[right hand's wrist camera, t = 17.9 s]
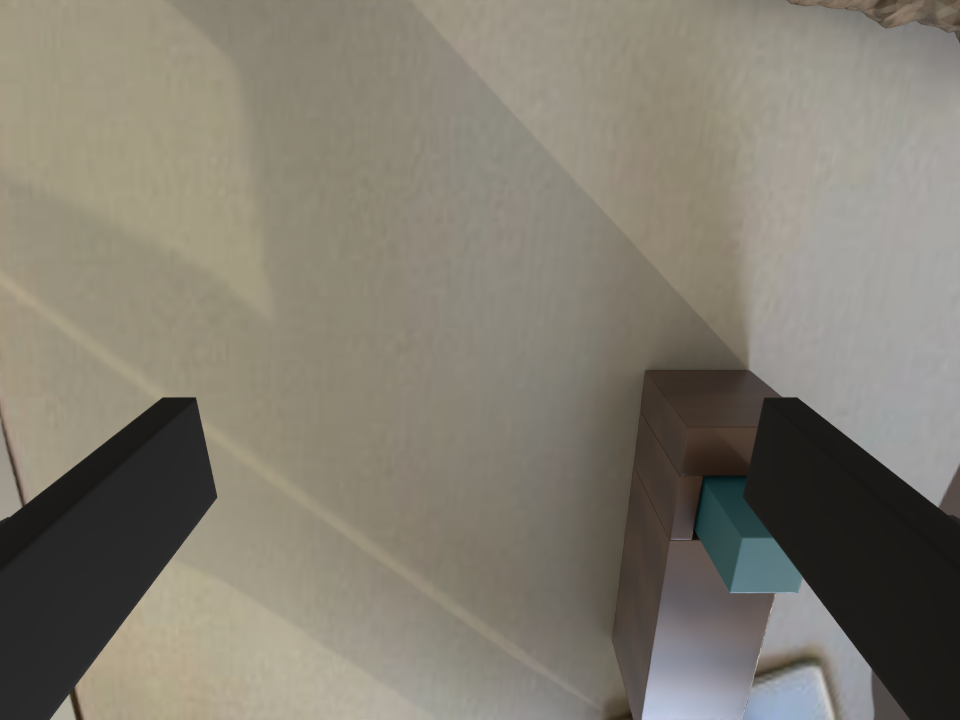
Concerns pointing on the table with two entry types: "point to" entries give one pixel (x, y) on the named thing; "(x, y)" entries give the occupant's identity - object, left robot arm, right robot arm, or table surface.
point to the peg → (741, 540)
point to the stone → (900, 11)
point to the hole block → (686, 552)
